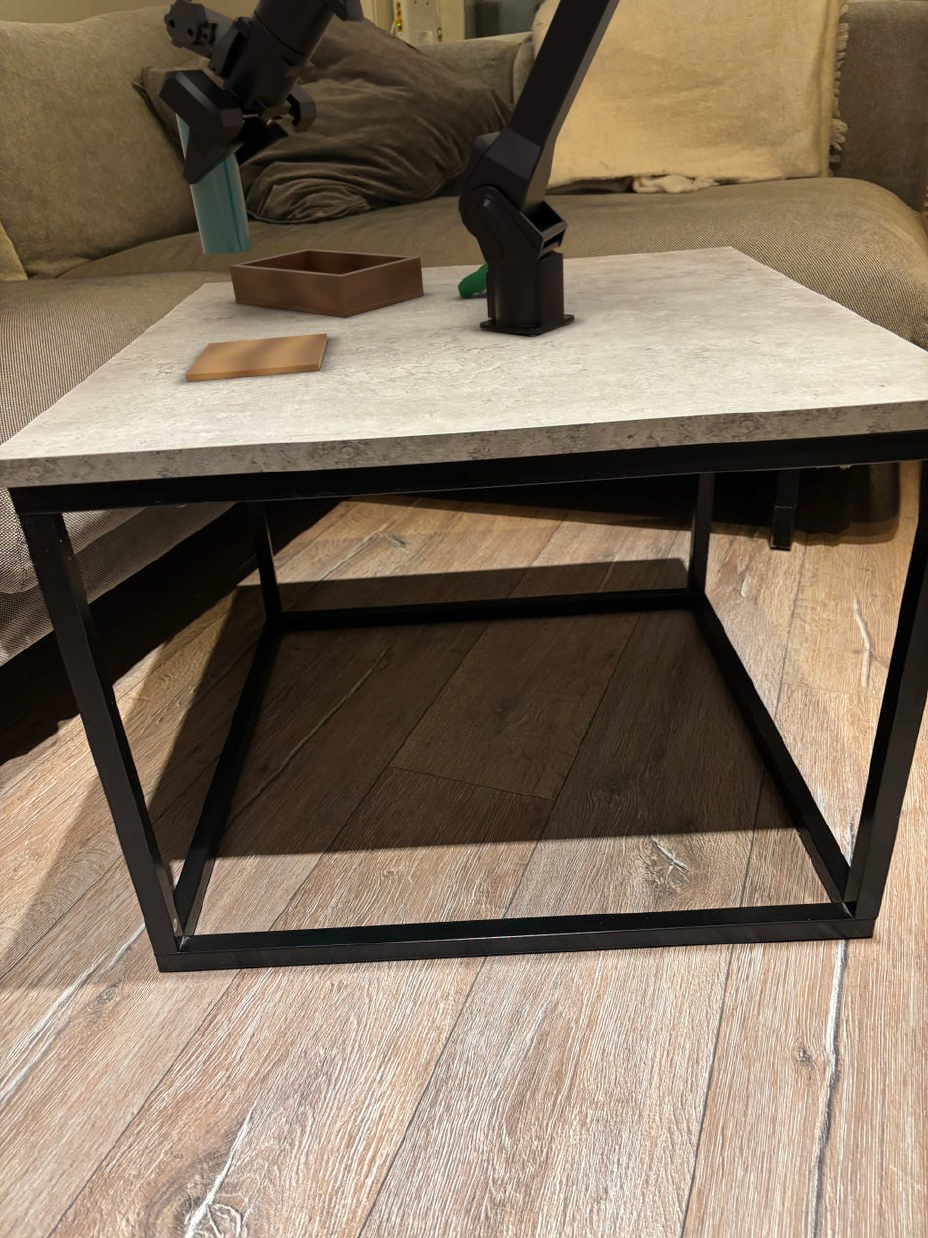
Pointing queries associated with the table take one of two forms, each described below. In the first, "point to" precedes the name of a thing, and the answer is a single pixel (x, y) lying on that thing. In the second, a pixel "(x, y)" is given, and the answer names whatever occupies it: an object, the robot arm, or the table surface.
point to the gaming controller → (474, 283)
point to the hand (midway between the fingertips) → (202, 178)
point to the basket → (328, 281)
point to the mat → (259, 357)
